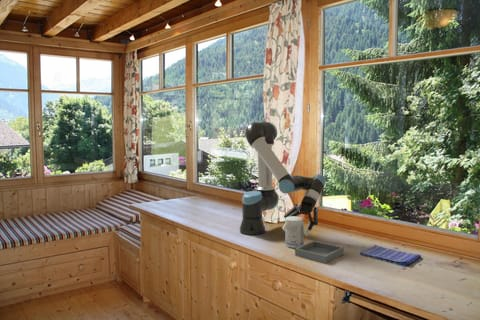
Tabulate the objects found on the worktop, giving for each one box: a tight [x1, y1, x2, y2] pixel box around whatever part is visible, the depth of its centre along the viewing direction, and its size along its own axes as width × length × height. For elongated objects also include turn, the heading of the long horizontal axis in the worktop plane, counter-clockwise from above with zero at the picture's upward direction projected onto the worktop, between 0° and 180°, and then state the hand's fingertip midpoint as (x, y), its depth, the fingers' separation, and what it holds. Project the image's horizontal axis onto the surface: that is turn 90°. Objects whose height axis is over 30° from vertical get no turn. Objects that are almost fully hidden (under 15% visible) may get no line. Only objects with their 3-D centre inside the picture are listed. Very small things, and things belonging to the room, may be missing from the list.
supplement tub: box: [284, 215, 305, 249], centre depth 206 cm, size 10×10×15 cm
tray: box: [294, 240, 345, 264], centre depth 193 cm, size 17×17×3 cm
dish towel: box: [359, 244, 422, 268], centre depth 189 cm, size 17×24×3 cm
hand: (294, 232), depth 205 cm, fingers open, 13 cm apart
